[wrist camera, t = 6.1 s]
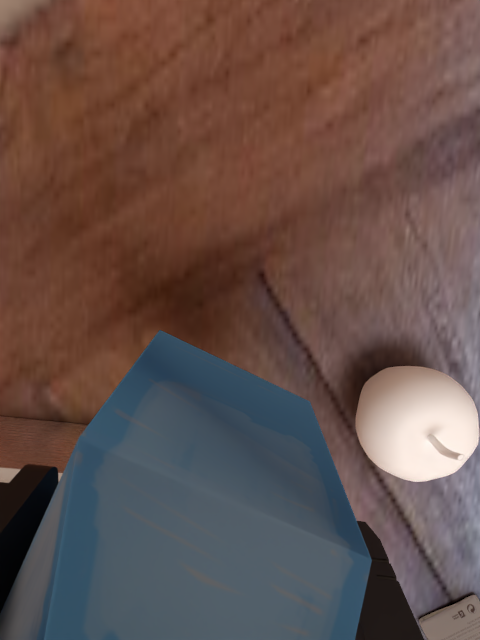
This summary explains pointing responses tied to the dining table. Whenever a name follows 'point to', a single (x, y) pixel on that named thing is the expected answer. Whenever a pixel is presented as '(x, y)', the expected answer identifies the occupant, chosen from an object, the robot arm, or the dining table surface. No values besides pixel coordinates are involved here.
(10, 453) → the white square stand
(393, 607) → the robot arm
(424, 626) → the skincare box
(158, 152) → the dining table surface
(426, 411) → the plain white apple
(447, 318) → the dining table surface
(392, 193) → the dining table surface
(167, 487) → the perfume bottle
